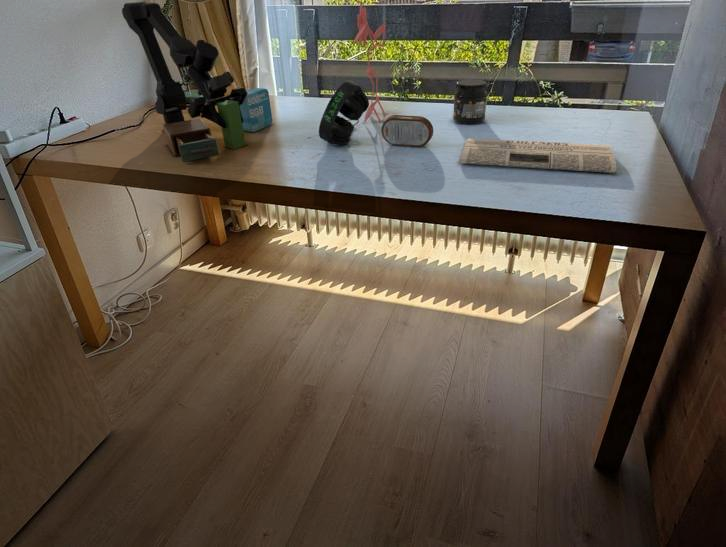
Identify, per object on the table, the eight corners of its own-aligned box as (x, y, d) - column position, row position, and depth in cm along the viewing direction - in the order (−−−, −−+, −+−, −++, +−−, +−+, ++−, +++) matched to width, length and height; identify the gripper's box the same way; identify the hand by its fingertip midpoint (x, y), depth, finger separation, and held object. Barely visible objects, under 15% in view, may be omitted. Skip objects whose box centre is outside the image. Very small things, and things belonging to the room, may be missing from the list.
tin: (433, 145, 143) (434, 115, 138) (430, 148, 140) (431, 118, 136) (383, 142, 147) (383, 113, 143) (380, 145, 145) (379, 116, 140)
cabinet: (214, 149, 149) (209, 128, 145) (175, 156, 144) (170, 134, 141) (204, 138, 159) (199, 118, 155) (167, 144, 155) (162, 124, 151)
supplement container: (457, 115, 169) (460, 78, 162) (488, 117, 165) (491, 80, 158) (448, 123, 161) (450, 85, 154) (480, 126, 157) (483, 86, 150)
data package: (251, 133, 161) (245, 95, 155) (240, 132, 163) (234, 94, 157) (273, 123, 170) (268, 87, 163) (262, 122, 172) (257, 86, 165)
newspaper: (459, 166, 127) (460, 155, 126) (468, 143, 143) (469, 133, 141) (614, 175, 117) (617, 164, 116) (606, 149, 133) (608, 139, 131)
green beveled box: (225, 146, 150) (216, 103, 144) (236, 142, 153) (228, 99, 146) (234, 149, 148) (225, 104, 141) (245, 145, 151) (238, 101, 144)
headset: (351, 159, 161) (332, 142, 132) (316, 138, 162) (289, 118, 134) (379, 110, 158) (365, 82, 130) (343, 89, 160) (322, 58, 131)
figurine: (391, 108, 181) (389, 0, 162) (378, 128, 159) (375, 6, 141) (350, 108, 184) (344, 1, 165) (333, 127, 162) (323, 8, 144)
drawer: (222, 158, 138) (219, 142, 136) (185, 166, 134) (181, 149, 132) (209, 144, 150) (205, 128, 148) (175, 150, 147) (171, 134, 144)
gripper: (183, 69, 134) (215, 115, 134) (238, 58, 146) (267, 101, 146) (175, 95, 143) (205, 139, 143) (227, 83, 155) (255, 123, 155)
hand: (234, 125), depth 146 cm, fingers open, 6 cm apart
